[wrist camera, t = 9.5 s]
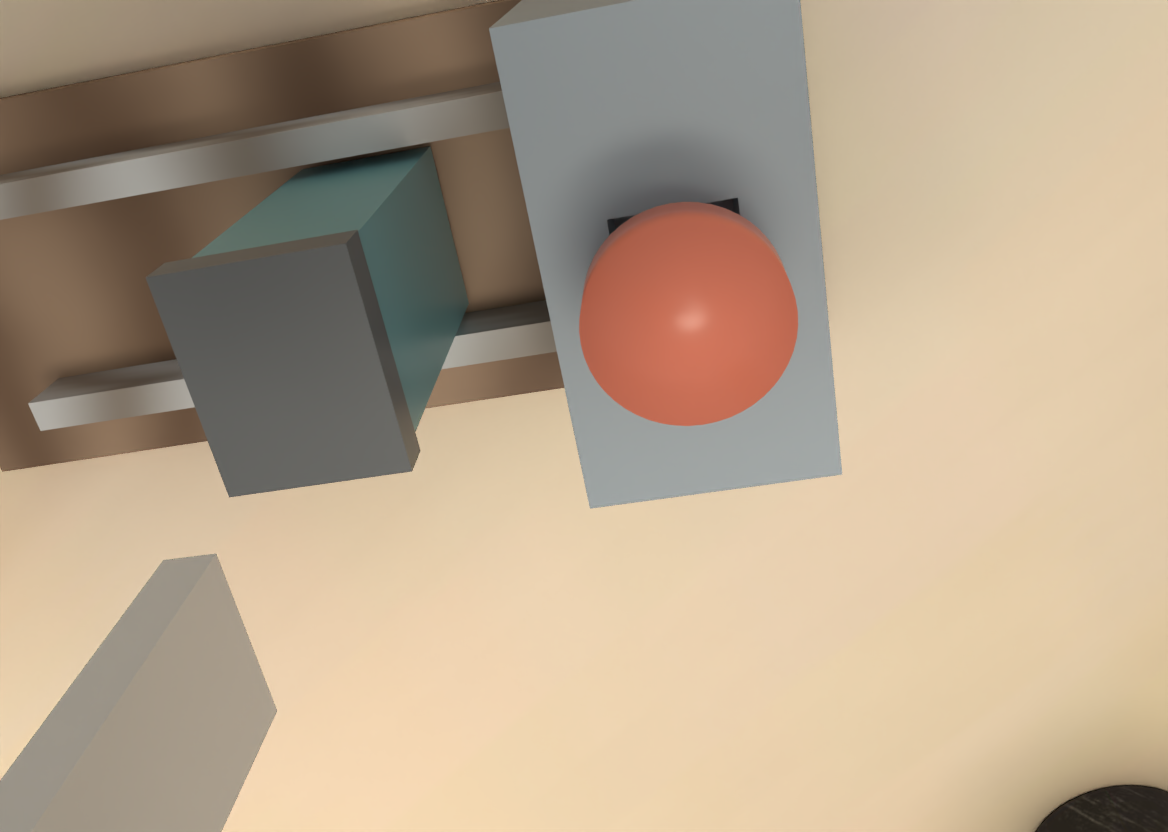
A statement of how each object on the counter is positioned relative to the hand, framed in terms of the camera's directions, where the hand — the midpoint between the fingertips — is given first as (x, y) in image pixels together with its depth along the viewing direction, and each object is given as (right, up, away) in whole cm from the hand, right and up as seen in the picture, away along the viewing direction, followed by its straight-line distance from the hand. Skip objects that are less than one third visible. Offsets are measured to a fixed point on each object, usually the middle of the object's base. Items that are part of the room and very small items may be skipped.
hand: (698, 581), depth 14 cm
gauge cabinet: (+1, +9, +19) cm, 21 cm away
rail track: (-9, +8, +20) cm, 24 cm away
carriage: (-8, +8, +19) cm, 22 cm away
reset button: (+1, +6, +11) cm, 12 cm away
